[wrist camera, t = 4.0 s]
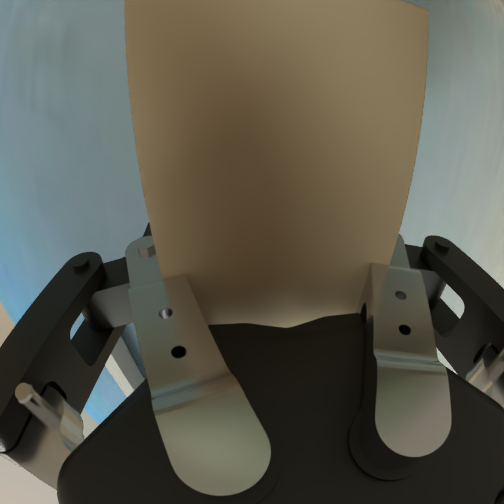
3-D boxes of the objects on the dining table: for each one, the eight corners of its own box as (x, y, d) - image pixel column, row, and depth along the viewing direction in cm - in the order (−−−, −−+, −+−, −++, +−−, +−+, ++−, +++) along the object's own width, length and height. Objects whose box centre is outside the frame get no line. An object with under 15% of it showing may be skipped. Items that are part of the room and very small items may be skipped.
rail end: (306, 35, 10) (428, 10, 3) (292, 289, 19) (324, 422, 12) (191, 36, 10) (124, -9, 3) (213, 294, 19) (212, 432, 11)
